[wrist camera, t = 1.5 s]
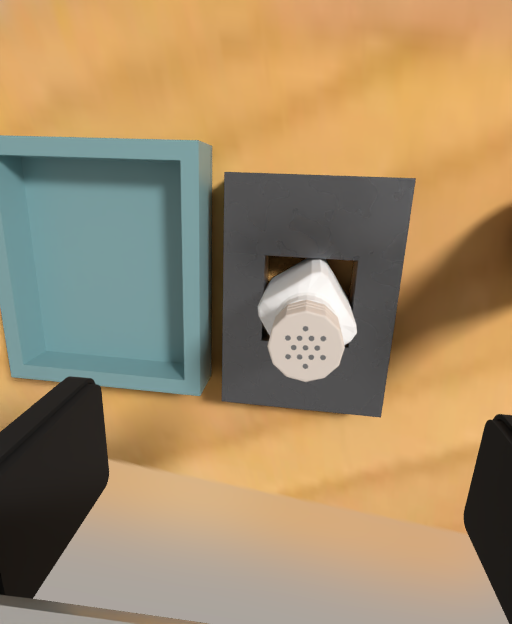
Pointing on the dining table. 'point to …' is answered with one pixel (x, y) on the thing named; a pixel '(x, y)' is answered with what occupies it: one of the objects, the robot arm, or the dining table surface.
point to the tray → (107, 260)
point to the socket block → (312, 244)
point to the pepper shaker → (306, 320)
